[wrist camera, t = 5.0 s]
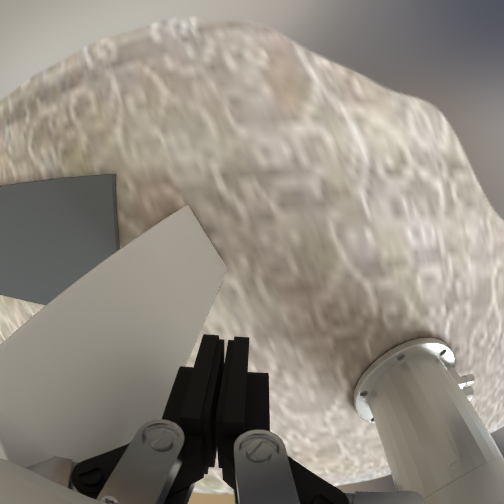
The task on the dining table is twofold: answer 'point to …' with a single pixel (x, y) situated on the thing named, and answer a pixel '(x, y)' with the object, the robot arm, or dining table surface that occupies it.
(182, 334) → the milk
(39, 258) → the mat
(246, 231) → the dining table surface
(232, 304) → the dining table surface
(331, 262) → the dining table surface
